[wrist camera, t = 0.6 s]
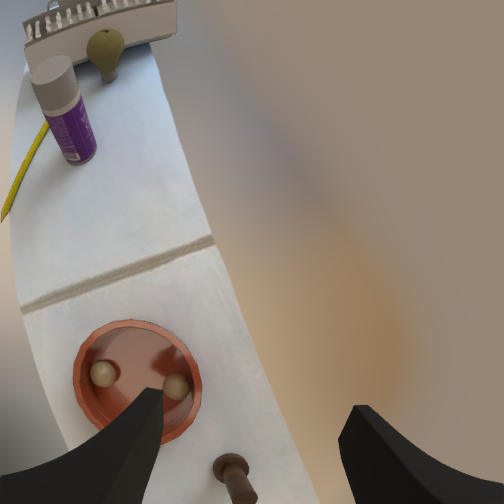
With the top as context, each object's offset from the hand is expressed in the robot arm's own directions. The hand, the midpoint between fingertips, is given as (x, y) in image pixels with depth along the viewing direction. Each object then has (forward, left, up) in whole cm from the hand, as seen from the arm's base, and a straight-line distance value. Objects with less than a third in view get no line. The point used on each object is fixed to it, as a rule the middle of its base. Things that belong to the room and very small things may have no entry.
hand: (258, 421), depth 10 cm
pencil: (+20, +28, -22) cm, 41 cm away
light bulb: (+37, +21, -22) cm, 48 cm away
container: (+23, +20, -22) cm, 38 cm away
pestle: (-13, -4, -22) cm, 26 cm away
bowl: (-3, +7, -22) cm, 23 cm away
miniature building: (+49, +27, -14) cm, 57 cm away
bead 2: (-3, +3, -20) cm, 21 cm away
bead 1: (-3, +11, -20) cm, 23 cm away
